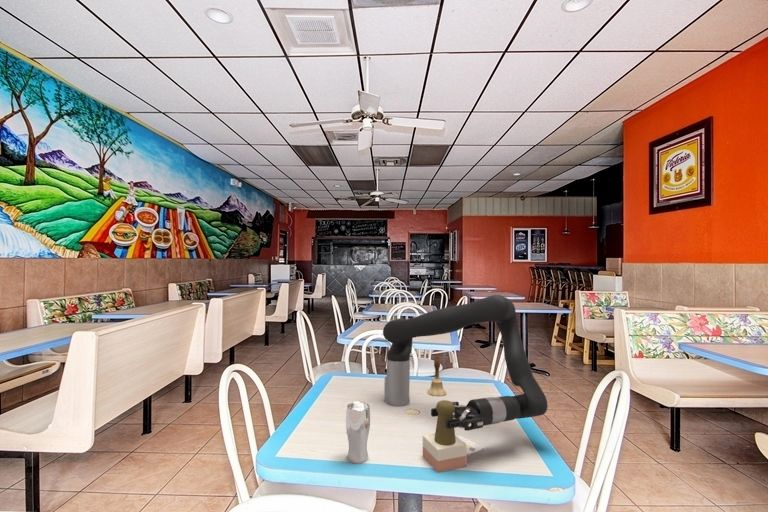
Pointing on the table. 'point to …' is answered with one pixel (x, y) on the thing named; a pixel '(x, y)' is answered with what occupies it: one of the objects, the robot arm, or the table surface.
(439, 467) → the brick base
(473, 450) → the page
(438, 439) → the cork
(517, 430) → the table surface
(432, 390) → the hand bell
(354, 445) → the beer glass
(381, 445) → the table surface
